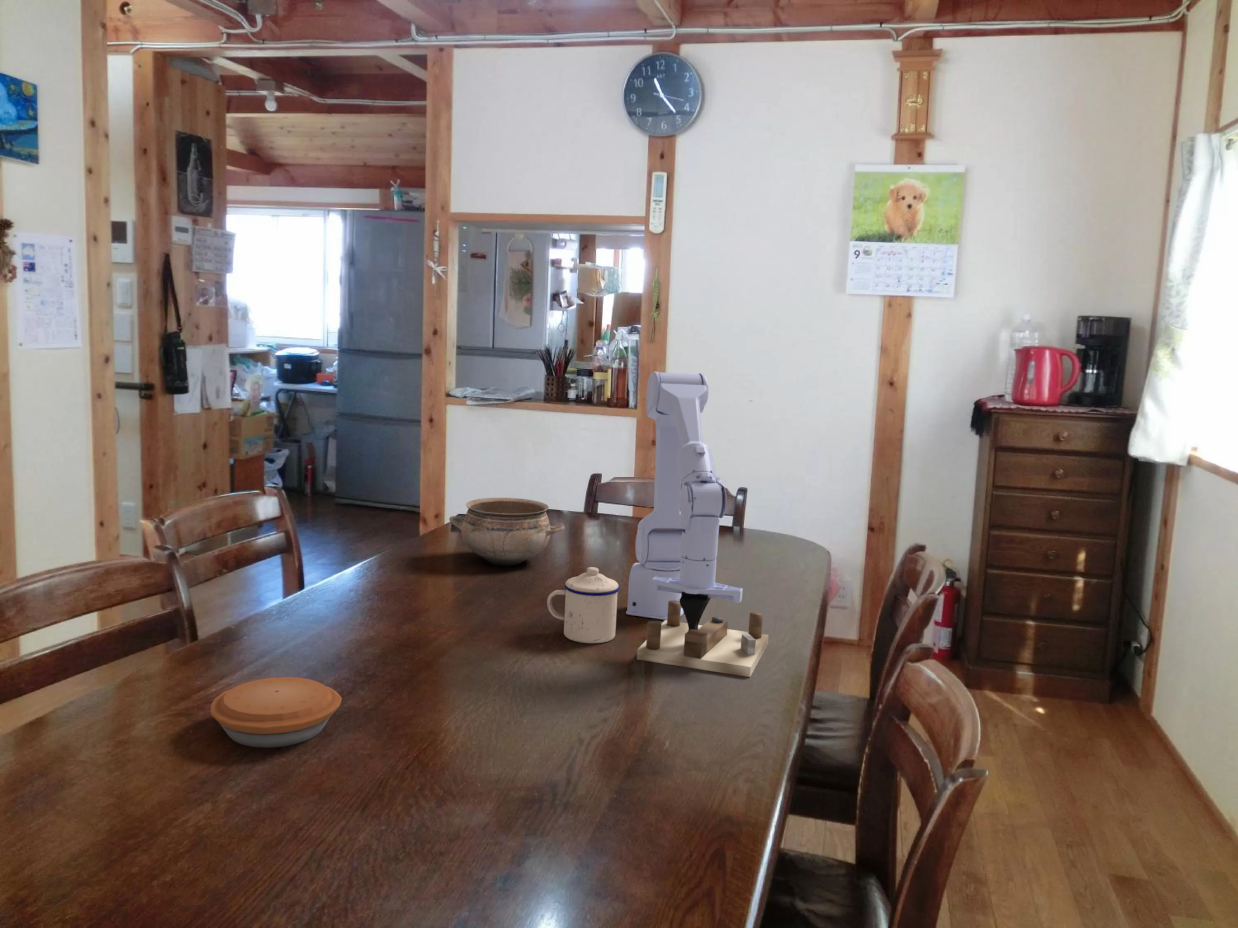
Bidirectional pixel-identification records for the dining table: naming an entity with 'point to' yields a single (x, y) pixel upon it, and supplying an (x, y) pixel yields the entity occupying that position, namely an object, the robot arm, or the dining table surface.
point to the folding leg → (705, 637)
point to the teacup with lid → (588, 607)
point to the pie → (275, 711)
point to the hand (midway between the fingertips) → (692, 639)
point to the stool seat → (726, 656)
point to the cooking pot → (506, 529)
